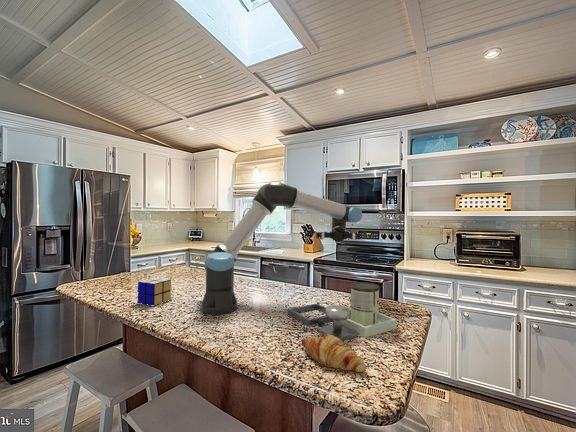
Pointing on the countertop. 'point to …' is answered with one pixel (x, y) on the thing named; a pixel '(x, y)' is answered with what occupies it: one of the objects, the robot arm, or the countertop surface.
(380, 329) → the tray
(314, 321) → the socket
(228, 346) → the countertop surface
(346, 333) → the door knob
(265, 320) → the countertop surface
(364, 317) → the coffee can
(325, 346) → the croissant
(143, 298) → the puzzle cube
